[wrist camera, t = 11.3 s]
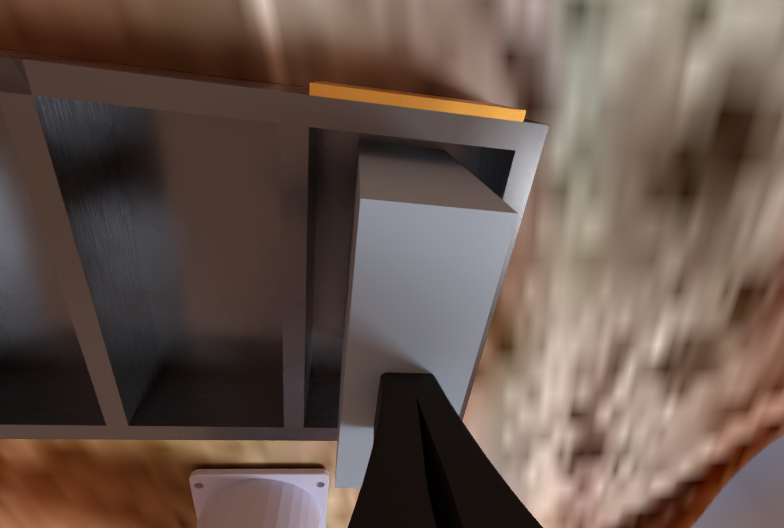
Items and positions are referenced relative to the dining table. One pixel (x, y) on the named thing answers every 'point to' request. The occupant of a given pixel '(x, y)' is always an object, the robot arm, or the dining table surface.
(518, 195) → the rack
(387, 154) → the panel
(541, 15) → the dining table surface
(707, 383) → the dining table surface
